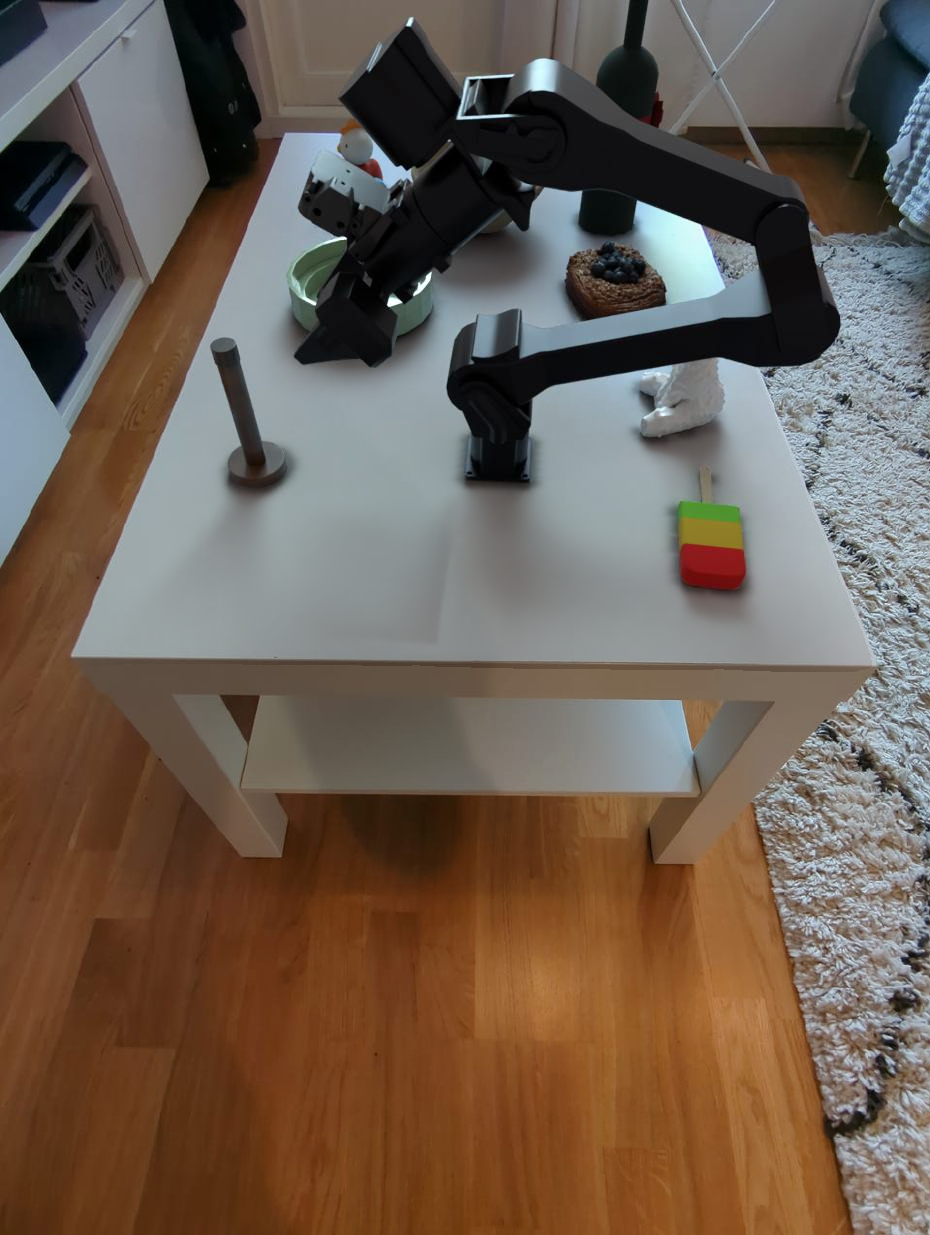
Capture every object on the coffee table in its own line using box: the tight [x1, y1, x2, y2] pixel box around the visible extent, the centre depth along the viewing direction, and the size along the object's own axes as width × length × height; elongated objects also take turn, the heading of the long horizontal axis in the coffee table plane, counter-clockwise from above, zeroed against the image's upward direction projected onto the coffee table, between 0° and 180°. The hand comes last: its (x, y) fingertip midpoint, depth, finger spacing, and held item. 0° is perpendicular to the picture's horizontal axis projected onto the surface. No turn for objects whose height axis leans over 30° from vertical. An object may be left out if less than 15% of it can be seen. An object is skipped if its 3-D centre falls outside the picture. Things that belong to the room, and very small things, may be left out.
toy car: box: [336, 117, 387, 187], centre depth 107 cm, size 9×9×10 cm
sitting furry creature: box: [638, 358, 726, 439], centre depth 76 cm, size 10×9×12 cm
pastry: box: [564, 240, 668, 321], centre depth 92 cm, size 11×12×6 cm
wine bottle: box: [577, 0, 665, 237], centre depth 94 cm, size 8×10×30 cm
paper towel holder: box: [209, 337, 288, 488], centre depth 70 cm, size 6×6×14 cm
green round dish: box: [285, 236, 435, 337], centre depth 91 cm, size 17×17×4 cm
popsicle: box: [677, 466, 747, 591], centre depth 70 cm, size 6×15×2 cm, turn 172°
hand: (309, 328), depth 66 cm, fingers open, 9 cm apart
